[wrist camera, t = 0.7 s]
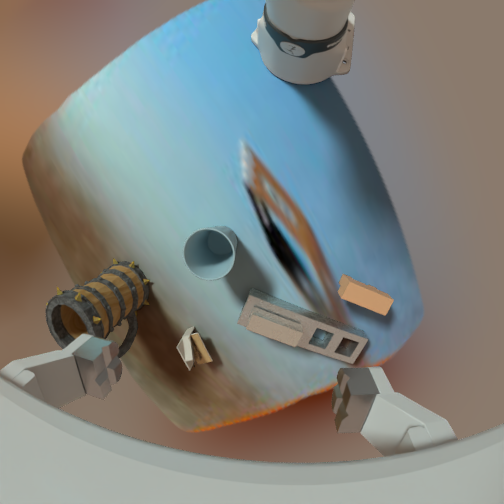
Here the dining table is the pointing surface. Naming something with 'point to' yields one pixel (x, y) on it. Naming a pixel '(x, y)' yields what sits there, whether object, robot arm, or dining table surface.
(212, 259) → the cup
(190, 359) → the architectural model
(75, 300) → the mug
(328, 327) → the rail
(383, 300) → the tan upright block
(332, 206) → the dining table surface
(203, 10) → the dining table surface
